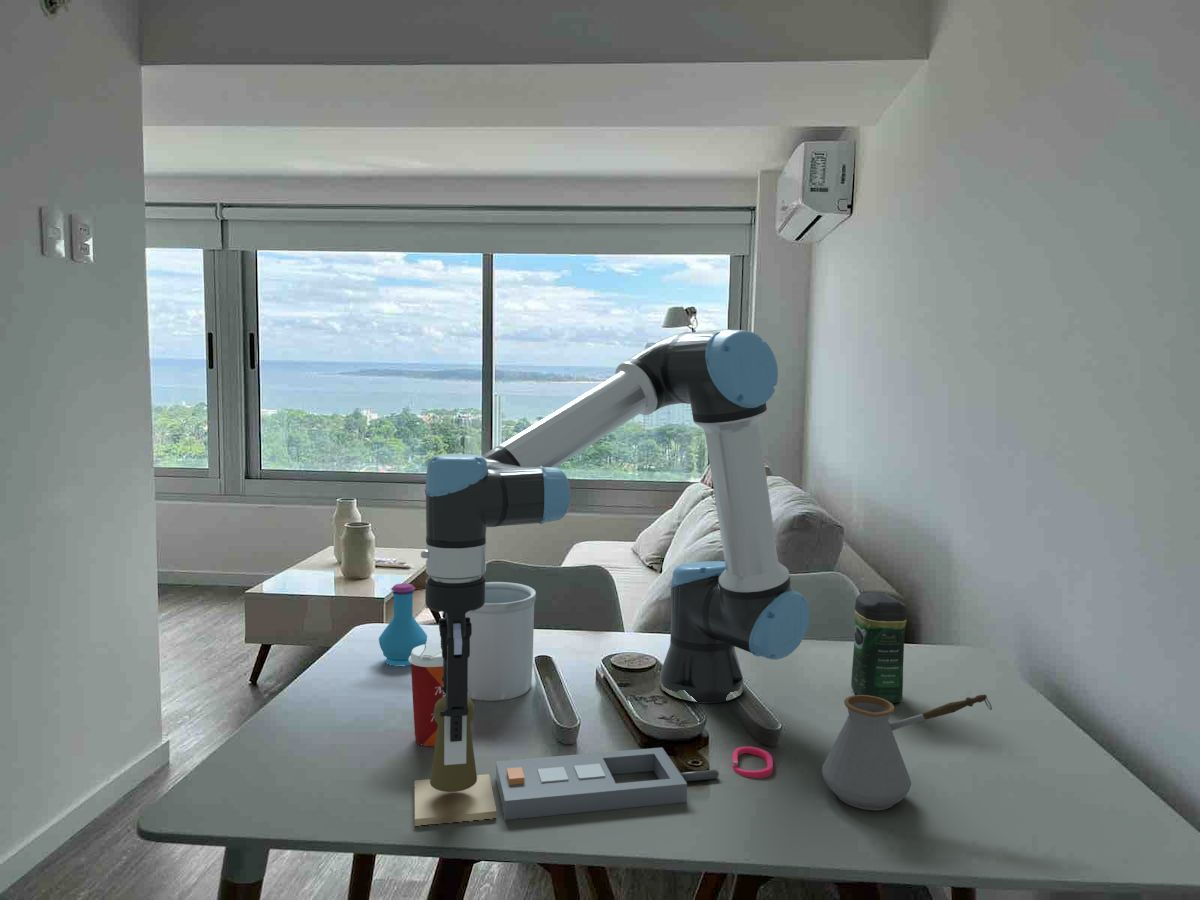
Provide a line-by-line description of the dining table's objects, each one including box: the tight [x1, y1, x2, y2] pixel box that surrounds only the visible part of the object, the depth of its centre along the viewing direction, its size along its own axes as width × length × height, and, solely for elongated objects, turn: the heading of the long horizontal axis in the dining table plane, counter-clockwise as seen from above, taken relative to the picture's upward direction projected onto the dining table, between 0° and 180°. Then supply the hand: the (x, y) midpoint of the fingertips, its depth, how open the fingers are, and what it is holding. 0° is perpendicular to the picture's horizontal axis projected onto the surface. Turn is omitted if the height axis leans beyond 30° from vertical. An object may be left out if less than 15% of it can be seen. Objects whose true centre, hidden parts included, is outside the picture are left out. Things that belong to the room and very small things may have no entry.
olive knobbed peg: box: [430, 696, 478, 792], centre depth 106 cm, size 6×6×11 cm
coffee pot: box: [821, 694, 993, 811], centre depth 109 cm, size 21×12×15 cm, turn 84°
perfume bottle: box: [378, 582, 428, 666], centre depth 160 cm, size 9×9×15 cm
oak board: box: [414, 773, 497, 827], centre depth 106 cm, size 10×10×1 cm
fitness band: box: [731, 745, 774, 779], centre depth 119 cm, size 8×6×2 cm
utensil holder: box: [465, 581, 537, 702], centre depth 147 cm, size 15×15×18 cm
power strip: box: [495, 747, 720, 821], centre depth 111 cm, size 31×11×3 cm, turn 103°
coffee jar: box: [850, 590, 908, 704], centre depth 146 cm, size 10×8×19 cm
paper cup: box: [409, 642, 446, 747], centre depth 125 cm, size 8×8×14 cm
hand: (454, 752), depth 106 cm, fingers closed on olive knobbed peg, 5 cm apart
